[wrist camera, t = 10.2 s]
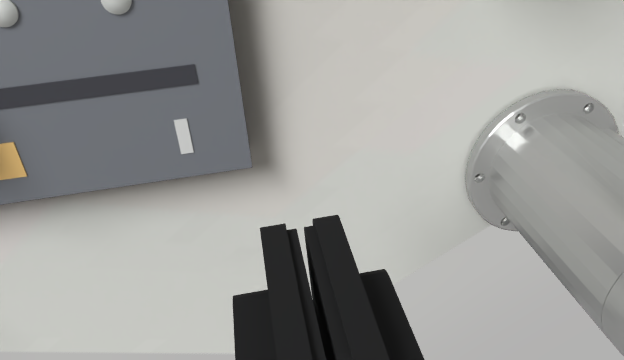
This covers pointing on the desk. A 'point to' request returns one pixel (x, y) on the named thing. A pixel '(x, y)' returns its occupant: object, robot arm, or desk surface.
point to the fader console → (116, 95)
